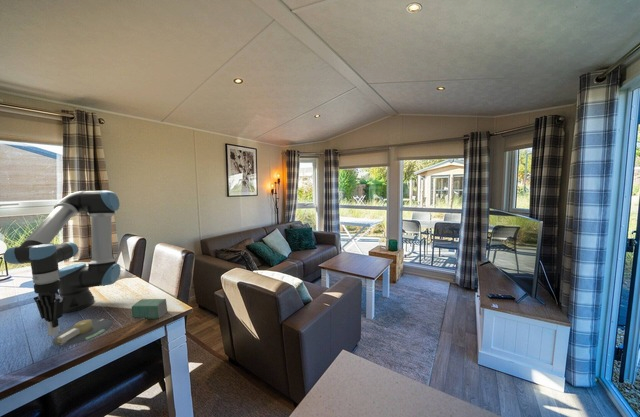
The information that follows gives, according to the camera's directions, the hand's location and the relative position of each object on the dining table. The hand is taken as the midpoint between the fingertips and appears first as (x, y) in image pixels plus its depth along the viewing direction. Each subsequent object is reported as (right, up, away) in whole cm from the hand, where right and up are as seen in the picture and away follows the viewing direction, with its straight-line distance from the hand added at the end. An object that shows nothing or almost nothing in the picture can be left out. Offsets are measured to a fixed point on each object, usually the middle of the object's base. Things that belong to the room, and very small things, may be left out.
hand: (54, 333), depth 106 cm
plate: (+6, -4, +7) cm, 10 cm away
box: (+26, -2, +23) cm, 35 cm away
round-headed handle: (+6, -3, +4) cm, 7 cm away
